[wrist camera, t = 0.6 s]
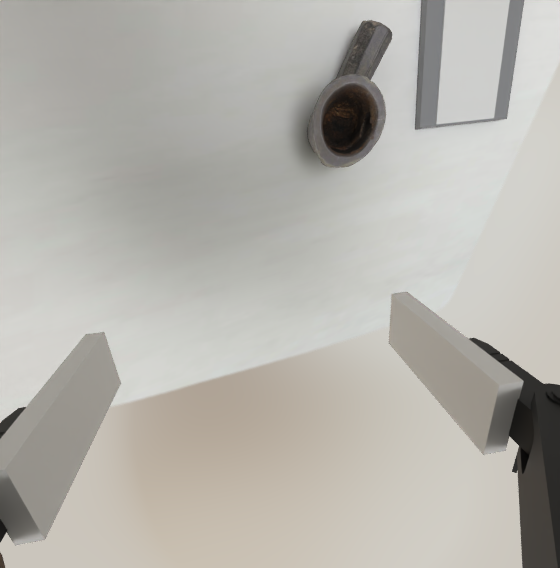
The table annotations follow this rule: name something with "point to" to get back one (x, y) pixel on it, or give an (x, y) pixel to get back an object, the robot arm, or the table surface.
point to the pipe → (351, 102)
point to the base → (466, 60)
